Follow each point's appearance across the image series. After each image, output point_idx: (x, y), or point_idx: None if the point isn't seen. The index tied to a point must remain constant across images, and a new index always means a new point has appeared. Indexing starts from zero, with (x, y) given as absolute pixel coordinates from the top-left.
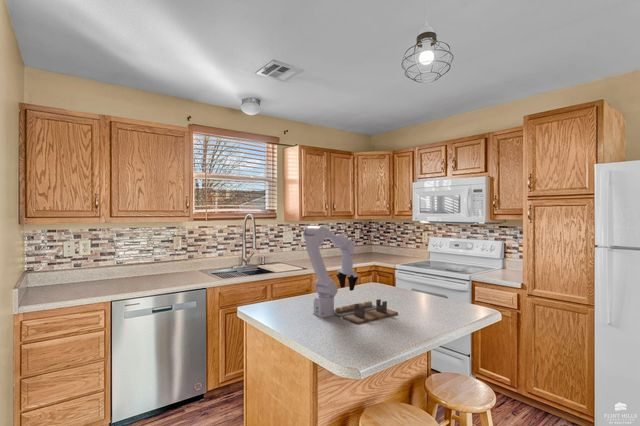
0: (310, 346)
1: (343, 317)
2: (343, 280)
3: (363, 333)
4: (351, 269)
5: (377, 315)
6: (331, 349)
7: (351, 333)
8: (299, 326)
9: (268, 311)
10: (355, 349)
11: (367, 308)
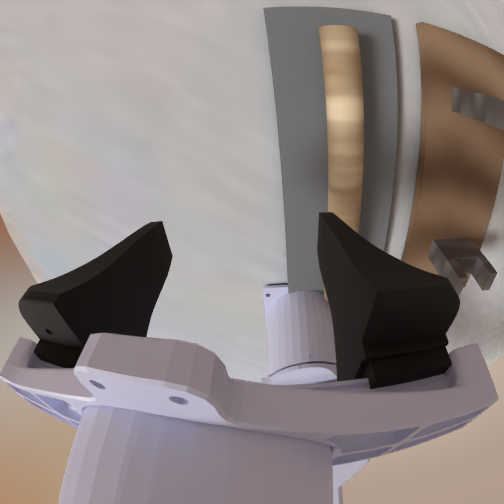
0: None
1: None
2: (131, 284)
3: (493, 297)
4: (332, 502)
5: (489, 169)
6: None
7: (471, 318)
8: None
9: None
10: (496, 338)
11: (376, 94)
